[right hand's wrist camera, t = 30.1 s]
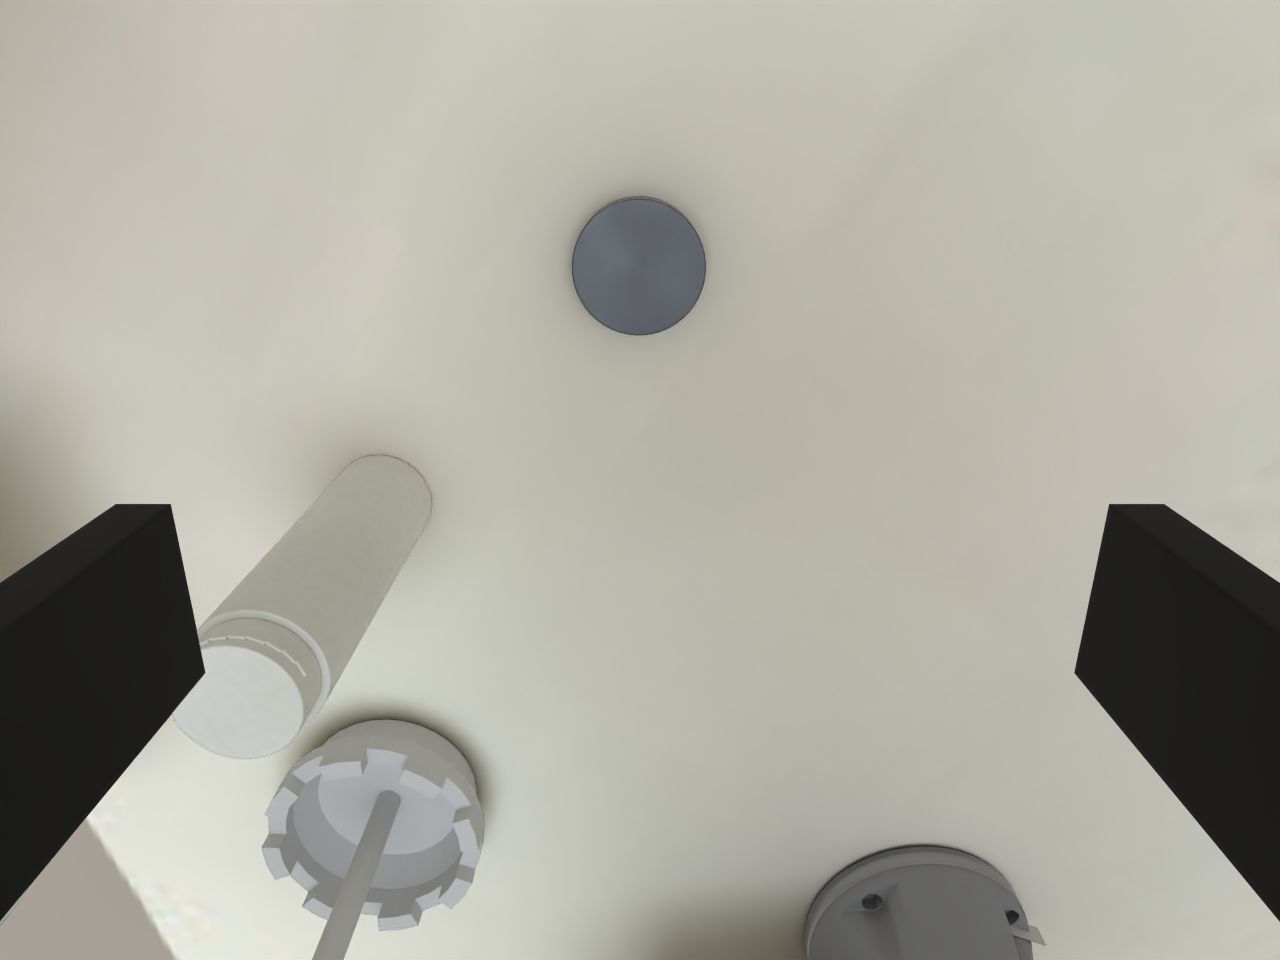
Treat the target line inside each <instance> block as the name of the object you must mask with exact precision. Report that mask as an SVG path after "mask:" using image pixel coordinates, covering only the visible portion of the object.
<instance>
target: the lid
mask: <svg viewBox="0 0 1280 960" xmlns="http://www.w3.org/2000/svg"><path fill="white" fill-rule="evenodd" d="M705 273H706V262H705V254H704V250H703V246H702V243H701V241H700V238H699V236H698V234H697V233H696V231H695V229H694V228H693V226H692V225H691V223H690V222H689V221H688V219H687V218H686V217H685V216H684V215H683V214H682V213H681V212H680V211H678V210H677V209H676V208H675V207H673V206H671V205H670V204H668V203H666V202H664V201H661V200H659V199H655V198H651V197H643V196H636V197H627V198H623V199H620V200H616V201H614V202H612V203H610V204H608V205H606V206H605V207H603V208H602V209H601V210H599V211H598V212H597V213H596V214H595V215H594V216H593V217H592V218H591V219H590V220H589V222H588V223H587V225H586V226H585V227H584V229H583V230H582V232H581V234H580V236H579V238H578V240H577V243H576V245H575V248H574V253H573V259H572V275H573V281H574V285H575V288H576V292H577V294H578V296H579V298H580V300H581V302H582V303H583V305H584V307H585V308H586V309H587V311H588V312H589V313H590V314H591V315H592V316H593V317H594V318H595V319H596V320H597V321H599V322H600V323H602V324H603V325H604V326H606V327H608V328H610V329H612V330H615V331H617V332H620V333H624V334H629V335H648V334H654V333H657V332H661V331H663V330H666V329H668V328H670V327H672V326H673V325H675V324H676V323H678V322H679V321H680V320H682V319H683V318H684V317H685V316H686V315H687V314H688V313H689V312H690V310H691V309H692V308H693V306H694V305H695V303H696V301H697V300H698V298H699V296H700V293H701V291H702V288H703V284H704V280H705Z"/></svg>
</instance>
